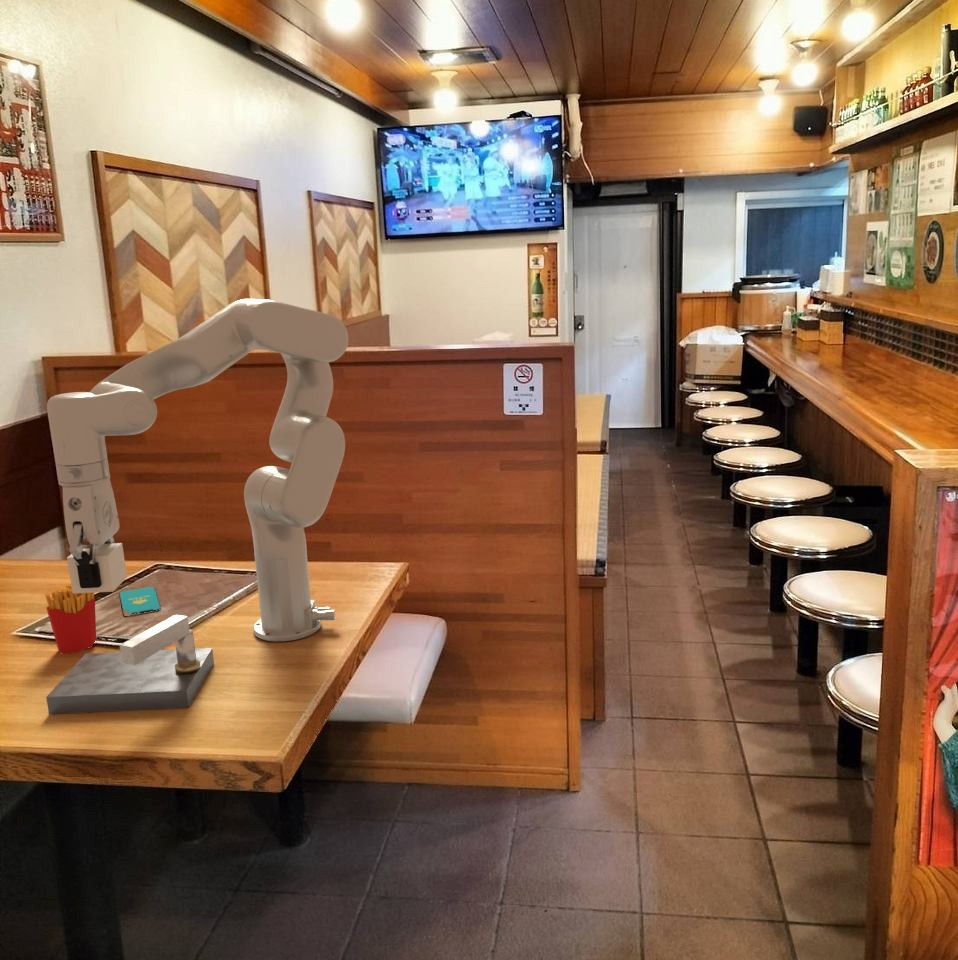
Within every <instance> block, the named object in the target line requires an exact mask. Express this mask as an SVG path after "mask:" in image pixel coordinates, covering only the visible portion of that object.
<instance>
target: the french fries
mask: <svg viewBox="0 0 958 960" xmlns="http://www.w3.org/2000/svg"><path fill="white" fill-rule="evenodd" d="M50 594H51V595H50ZM44 596H45V599H46V603H47V605H48V606H46V607H45V608H46V612H47V615H48V619H49V623H50V625H51V629H52V633H53V637H54V639H55V643H56V647H57V651H58V650H59V651H60V652H61V653H69V654H72V652H73V653H76V651H77V652H80V651H84V650H86V648H87V649H89V648H88V647H90V648H92V647H91V646H93V644H94V642H95V640H96V641H97V626H96V625H97V621H96V619H97V618H96V598H95V592H93V593H72V586H71V583H65V586H63V587H57V588H52V589H51V590H50V593H49V592H47V593H44ZM93 647H94V646H93ZM83 649H84V650H83ZM60 652H59V653H60ZM61 653H60V654H61Z"/></svg>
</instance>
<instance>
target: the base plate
mask: <svg viewBox="0 0 958 960" xmlns="http://www.w3.org/2000/svg"><path fill="white" fill-rule="evenodd" d="M195 651H196V660H199V661H200V668H199V669H197V670H195V671H193V672H189V673H179V672H176V670H175V665H176V664H177V663H178V661H177V654H176V649H162V650H160V651H159V652H157V653H155V654H153V655H152V656H150V657H148V658H147V659H145V660H143V661H141V662H140V663H138V664H136V665H130V664H124V663H122V659H121V652H120V651H113V652H112V651H111V652H92V653H84V654H83V656H82V657H81V658H80V659H79V660H78V661H77V662H76V664H75V665H73V667H72V668H71V669H70V670H69V671H68V672H67V673H66V674H65V676H64V677H63V678H62V679H61V680H60V681H59V682H58V683H57V685H55V686H54V688H53V689H52V690H51V691H50V692H49V693H48V695H47V696H46V697H45V698H46V704H47V710H48V714H49V715H60V714H62V715H63V714H84V713H103V712H104V713H106V712H126V711H129V712H130V711H146V710H147V711H150V710H169V709H171V710H173V709H189V708H190V706H191V704H192V703H193V701H194V700H195V698H196V696H197V694H198V693H199V691H200V689H201V687H202V686H201V685H203V684H204V682H205V681H206V679H207V676H208V675H209V674H210V672H211V669H212V668H213V667H214V665H215V658H214V651H213V647H205V648H203V647H202V648H201V647H200V648H198V647H197V648H195ZM213 664H214V665H213ZM209 671H210V672H209Z"/></svg>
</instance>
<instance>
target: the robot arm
mask: <svg viewBox="0 0 958 960" xmlns="http://www.w3.org/2000/svg"><path fill="white" fill-rule="evenodd" d="M349 340H350V339H349V333H348V330H347V327H346V325H345V324H344V322H343V321H341V320H340V319H339V318H338V317H337V316H335V315H332V314H330V313H327V312H326V313H325V312H321V311H317V310H313V309H308V308H304V307H301V306H297V305H293V304H288V303H285V302H282V301H277V300H271V299H264V298H263V299H260V298H243V299H239V300H235V301H234V302H231V303H230V304H227V305H226V306H225V307H223V308H222V309H220V310H219V311H218V312H216V313H214V314H213V315H211V316H210V317H209V318H207V319H206V320H204V321H203V322H201V323H200V324H198V325H197V326H196V327H193V329H191V330H189V331H188V332H187V333H185V334H183V335H182V336H181V337H179V338H177V339H175V340H173V341H172V342H169V343H167V344H165V345H163V346H160V347H158V348H157V349H155V350H153V351H151V352H149V353H147V354H144V355H142V356H140V357H138V358H136V359H133V360H132V361H130V362H128V363H126V364H125V365H124V366H122V367H120V368H119V369H118V370H115V371H114V372H113V373H111V374H109V375H108V376H107V377H105V378H103V380H101V381H99V382H98V383H97V384H96V385H94V386H93V388H91V390H90V391H88V392H87V391H75V392H67V393H66V392H65V393H59V394H56V395H53V396H51V397H50V398H49V399H48V401H47V403H46V408H47V409H46V410H47V418H48V423H49V431H50V438H51V442H52V443H51V444H52V448H53V449H52V450H53V455H54V462H55V467H56V469H55V470H56V475H57V481H58V485H59V486H61V487H62V502H63V503H62V504H63V514H64V515H63V516H64V524H65V531H66V536H67V541H68V544H69V550H68V551H69V553H70V555H71V554H72V555H73V557H74V559H75V564H76V565H77V570H78V576H79V583H80V587H81V588H99V587H100V586H101V585H102V583H101V577H100V570H99V563H98V562H97V563H95V562H96V546H101V545H102V544H110V543H116V541H115V539H114V535H115V534H117V532H118V531H119V530H120V528H121V527H120V518H119V513H118V509H117V503H116V498H115V494H114V489H113V486H112V482H111V473H110V468H109V466H110V465H109V459H108V453H107V446H106V438H105V437H107V436H132V435H138V434H141V433H143V432H145V431H147V430H148V429H150V428H151V427H152V425H153V424H154V423H155V422H156V419H157V416H158V407H157V404H156V401H155V400H156V399H157V398H159V397H161V396H164V395H167V394H169V393H172V392H175V391H177V390H178V391H179V390H182V389H183V390H184V389H188V388H193V387H197V386H199V385H203V384H206V383H209V382H210V381H211V380H214V379H215V378H216V377H218V376H219V375H220V374H221V373H223V372H224V371H225V370H227V369H229V368H230V367H232V366H233V365H234V364H235V363H237V362H238V361H239V360H241V359H243V358H244V357H246V356H247V355H249V353H251V352H253V351H254V350H260V351H261V350H263V351H270V352H274V353H279V354H280V355H281V357H282V359H283V362H284V364H285V366H286V371H287V373H286V374H287V380H286V387H285V389H284V393H283V397H282V399H281V403H280V405H279V408H278V410H277V414H276V416H275V418H274V422H273V425H272V428H271V431H270V435H269V441H268V442H269V448H270V449H271V452H272V453H273V454H274V455H275V456H276V457H277V458H279V459H281V460H283V461H285V462H289V463H291V465H290V468H285V467H282V466H275V465H267V466H263V467H260V468H257V469H255V470H254V471H253V472H252V473H251V474H250V475H249V476H248V478H247V480H246V481H245V485H244V488H243V489H244V490H243V499H244V505H245V509H246V513H247V516H248V520H249V523H250V524H249V525H250V529H251V535H252V541H253V550H254V551H253V552H254V561H255V572H256V581H257V591H258V593H257V594H258V602H259V610H260V618H259V619H258V620H257V621H256V622H255V623H254V625H253V634H254V635H255V636H256V637H257V638H259V639H260V640H263V641H269V642H289V641H290V642H291V641H296V640H300V639H304V638H306V637H308V636H312V635H313V634H315V633H316V632H317V631H319V630H320V628H321V626H322V621H326V622H327V621H336V611H335V609H331V606H323V607H318V606H317V605H316V602H315V599H311V588H310V587H311V586H310V576H309V575H310V573H309V564H308V553H307V552H308V550H307V540H306V534H305V529H304V528H307V527H309V526H312V525H314V524H315V523H316V522H318V521H319V520H320V519H321V517H322V516H323V514H324V512H325V511H326V509H327V506H328V504H329V501H330V498H331V496H332V492H333V489H334V488H335V484H336V481H337V478H338V475H339V473H340V469H341V468H342V463H343V460H344V457H345V451H346V439H345V434H344V431H343V429H342V427H341V426H340V424H338V423H337V422H336V421H335V420H334V419H332V418H330V417H328V416H327V414H328V410H329V408H330V404H331V400H332V396H333V392H334V377H333V372H332V369H331V365H330V363H331V362H336V361H337V360H338V359H340V358H341V357H342V356H343V355H344V354H345V352H346V351H347V349H348V347H349V346H348V345H349ZM83 542H89V543H88V544H87V543H84V544H83ZM83 549H90V552H89V554H88V553H87V552H86V551H83Z"/></svg>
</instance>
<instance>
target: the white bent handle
mask: <svg viewBox="0 0 958 960" xmlns="http://www.w3.org/2000/svg"><path fill="white" fill-rule="evenodd" d="M172 644H175V650H176V654H177V661H178V663H177V664H176V665H175V670H176V672H179V673H189V672H193V671H195V670H197V669H199V668H200V661H199V660H196V651H195V649H196V645H195V635H194V630H192V629H190V625H189V617H188V616H187V615H181V614H173V615H171V616H170V617H168V618H166V619H164V620H162V621H161V622H159V623H157V624H155V625H154V626H151V627H150V628H148V629H146V630H144V631H142V632H141V633H139V634H137V635H135V636H133V637H131V638H129V639H128V640H126V641H124V642H122V643H121V644H119V652H121V659H122V663H124V664H130V665H136V664H138V663H140V662H141V661H143V660H145V659H147V658H148V657H150V656H152V655H153V654H155V653H157V652H159V651H160V650H165V648H167V647H169V646H171V645H172Z"/></svg>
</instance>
